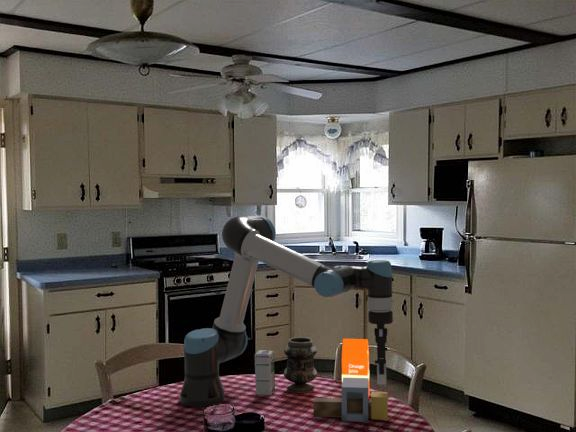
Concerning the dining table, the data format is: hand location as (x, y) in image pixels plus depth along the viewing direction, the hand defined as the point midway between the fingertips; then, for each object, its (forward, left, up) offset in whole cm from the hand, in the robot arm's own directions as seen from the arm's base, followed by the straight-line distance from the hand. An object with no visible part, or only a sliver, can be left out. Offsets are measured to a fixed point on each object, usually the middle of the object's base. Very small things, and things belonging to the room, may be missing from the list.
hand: (381, 377), depth 193 cm
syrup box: (-41, +20, -13) cm, 47 cm away
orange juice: (-9, +19, -13) cm, 24 cm away
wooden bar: (-12, 0, -13) cm, 18 cm away
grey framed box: (-8, 0, -12) cm, 15 cm away
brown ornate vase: (-29, +25, -13) cm, 40 cm away
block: (-1, 0, -12) cm, 12 cm away
